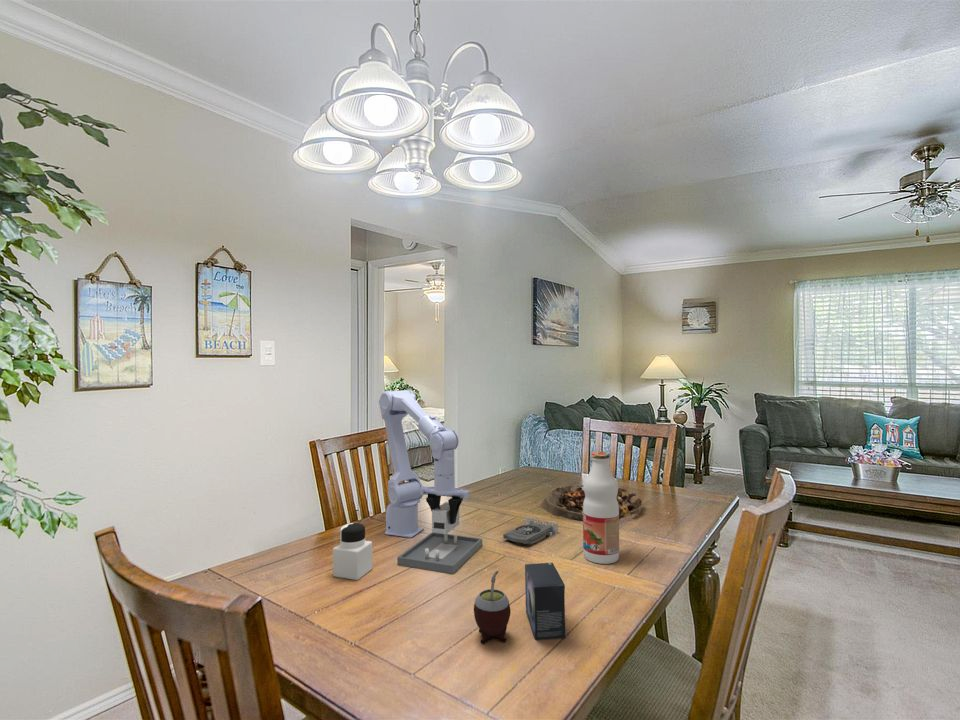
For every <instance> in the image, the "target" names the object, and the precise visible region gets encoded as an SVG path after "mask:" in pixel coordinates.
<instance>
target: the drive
mask: <svg viewBox="0 0 960 720" xmlns="http://www.w3.org/2000/svg"><path fill="white" fill-rule="evenodd" d="M458 526H460V509H459V510H458V513H457V517H456V522H455V523H454V524H451V523H450V507H449V502H447V501H446V502H443V503H442V504H440V506H438V507H437V508H435V509H433V510H432V511H431V533H432V532H435V533H443V534H449V533H450V532H451V531H452V530H454V529H456V528H457V527H458Z"/></svg>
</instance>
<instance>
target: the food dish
mask: <svg viewBox="0 0 960 720" xmlns="http://www.w3.org/2000/svg"><path fill="white" fill-rule="evenodd" d="M573 487H574V486H573V485H570V486H568V485H567V486H562V487H555V488H553V489H552V490H551V491H549V492H548V493H547V494H546V495H545V497H544V499H543V501H542V503H540V509H542V510H543V511H546V512H547V513H549V514H551V515H553V516H555V517H561V518H565V519H571V520H577V521H583V502H584V499H585V493H584V489H583V488H582V487H583V484H582V485H579V486H578V487H577V488H575V489H573V490H572V488H573ZM571 490H572V491H571ZM627 492H628V490H627V489H624V488H621V487H620V488H619V487H618V493H617V497H616V498H617V501H618V505H619V520H621V519H623V518H625V517H627V516H632V515H640V514H641V513H642V512H641V511H642V503H643V501H642V498H639V497H637V499H635V501H634V503H633V504H632V500H631V499H632V498H633V497H635V496H636V495H637V494H636V493H634V492H633V493H628V494H627V495H623V493H627Z"/></svg>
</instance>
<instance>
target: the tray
mask: <svg viewBox="0 0 960 720" xmlns="http://www.w3.org/2000/svg"><path fill="white" fill-rule="evenodd" d="M482 547H483V538H482V537H481V538H480V537H472V536H465V535H458V534H450V533H447V534H443V533H435V532H432V531H431V533H429V534H427V535H426V536H425V537H423V538H422V539H421V540H419V541H418V542H416V543H415V544H414V545H412V546H411V547H409V548H408V549H407V550H406V551H404V552H403V553H402V554H400V555H398V556H397V557H396V558H397V559H396V560H397V563H396V564H397V566H403V567H408V568H414V569H420V570H426V571H432V572H437V573H445V574H449V575H450V574H451V575H454V574H455V573H456V572H457V571H458V570H459V569H460V568H461V567H462V566H464V564H465V563H466V562H467V561H469V560H470V558H472V556H473V555H475V553H476V552H477V551H478V550H480V549H481V548H482Z"/></svg>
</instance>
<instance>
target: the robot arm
mask: <svg viewBox="0 0 960 720" xmlns="http://www.w3.org/2000/svg"><path fill="white" fill-rule="evenodd" d="M378 404H379V410H380V415H381V418H382V420H383V421H384V427H385V432H386V438H387V442H388V448H389V453H390V459H391V464H392V468H393V472H394V473H393V475H392V476H391V477H390V478H389V480H388V481H387V486H388V488H387V489H388V490H387V496H388V500H389V502H390V503H388V505H387V506H386V511H385V532H384V535H388V536H395V537H396V536H397V537H404V538H409V539H410V538H413V537H414V536H416V535H418V534H419V533H421V532H422V531H423V530H424V527H419V506H418V505H419V503H420V502H421V499H423V497H424V496H425V495H426V496H427V497H426V498H425V501H426V503H427V504H428V506H429V508H430V511H431V512H432V510H433V509H435V508H437V507H438V506H440V505H441V498H442V497H448V498H449V499H448V500H447V501H448V503H449V507H450V523H451V524H454V523H455V522H456V517H457V513H458V510H459V511H460V507H461V504H462V502H463V500H469V498H470V497H471V496H470V495H471V494H470V493H471V490H468V489H462V488H457V487H456V485H455V481H456V480H455V478H456V477H455V450H457V448H458V446H459V442H460V441H459V436H458V434H457V432H456V431H455V430H454V429H452V428H451V429H449V428H446V427H445V426H444V425H443V424H442V423H441V422H440V421H439V420H438V419H437V418H436V415H434V414H427V413H426V411H425V410H424V409H423V408H422V406H421V405H420V404H419V403H418V401H417V395H416V394H415V393H414V392H413V391H412V390H411V389H405V390H404V389H403V390H384V391H383V392H381V395H380V397H379V401H378ZM408 415H409V416H410V417H411V418H412V419H413V420H415V421H416V422H417V423H418V424H417V429H418V430H419V431H420V432H421V433H422V434H423V436H425V438H426V439H428V441H429V448H430V449H431V456H432V458H433V470H434V472H433V478H434V479H433V480H434V482H433V483H434V486H423V484H422V482H421V479H420V475H419V474H418V473H416V472H415V471H413V470H412V468H411V463H410V459H409V453H408V449H407V443H406V438H405V433H404V428H403V424H402V421H403V419H404V418H405V417H407V416H408Z"/></svg>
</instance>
